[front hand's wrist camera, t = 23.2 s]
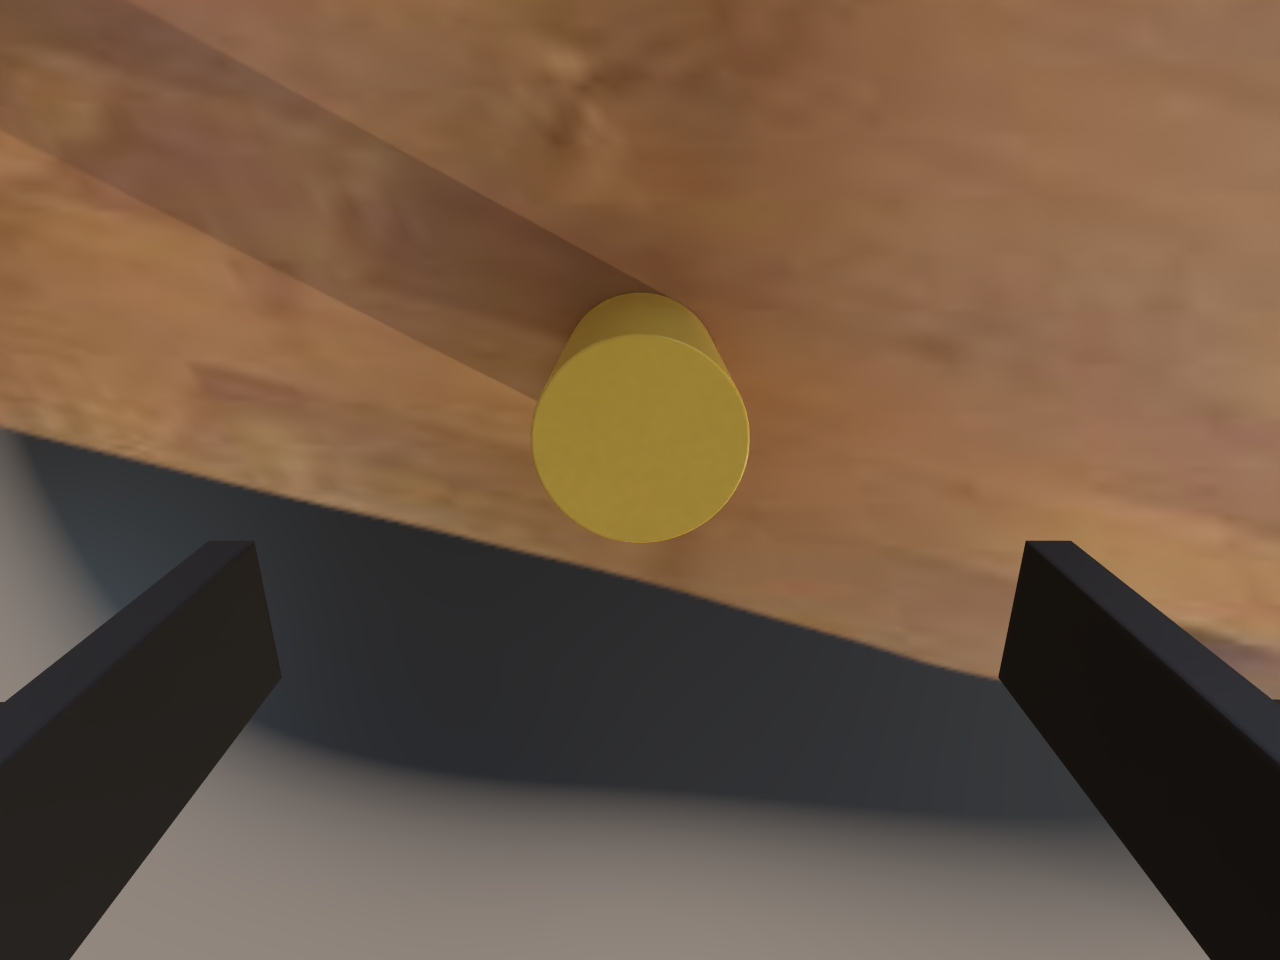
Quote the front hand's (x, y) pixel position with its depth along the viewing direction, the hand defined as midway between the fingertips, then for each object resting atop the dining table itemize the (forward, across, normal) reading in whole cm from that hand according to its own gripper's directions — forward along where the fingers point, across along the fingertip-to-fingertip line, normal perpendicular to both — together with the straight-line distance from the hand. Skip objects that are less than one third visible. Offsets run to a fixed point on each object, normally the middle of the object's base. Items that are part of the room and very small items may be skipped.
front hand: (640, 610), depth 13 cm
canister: (+19, 0, 0) cm, 19 cm away
